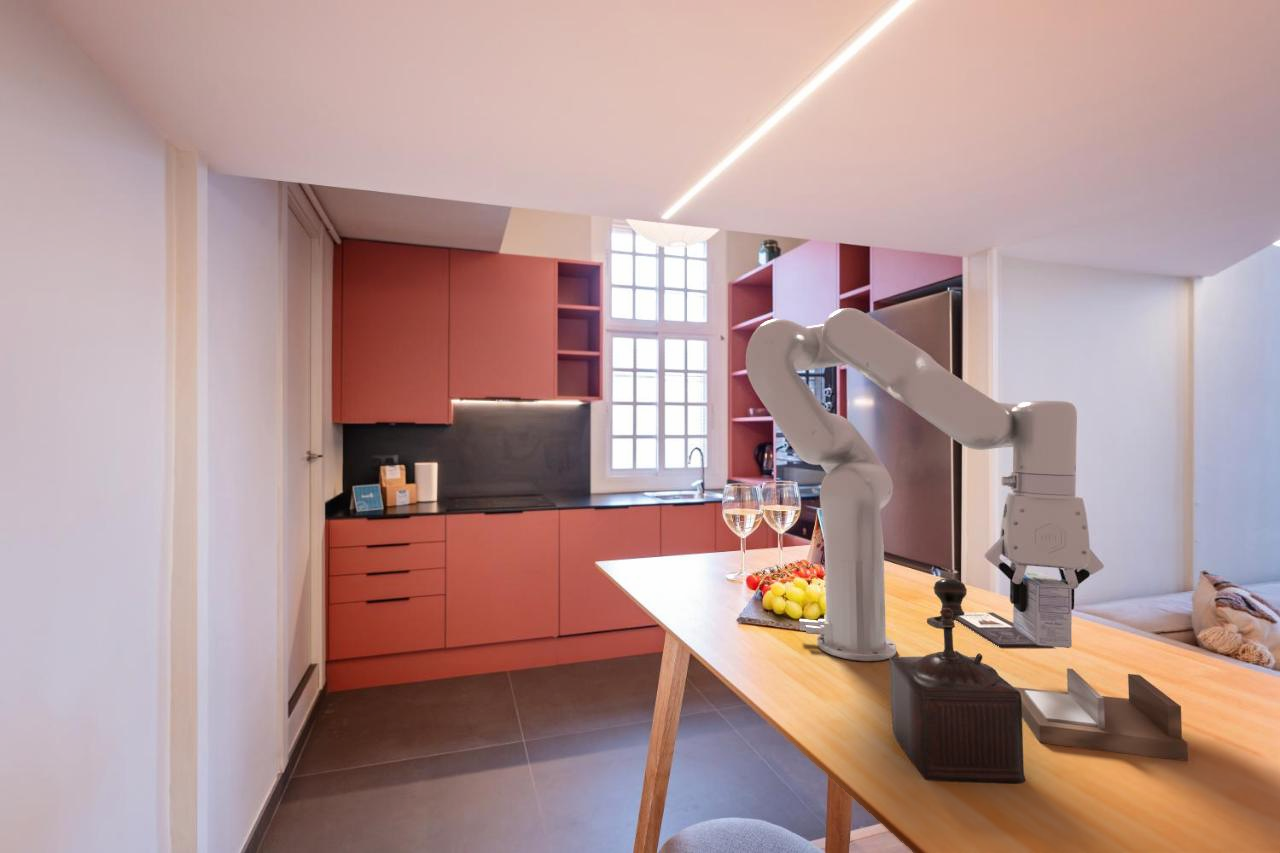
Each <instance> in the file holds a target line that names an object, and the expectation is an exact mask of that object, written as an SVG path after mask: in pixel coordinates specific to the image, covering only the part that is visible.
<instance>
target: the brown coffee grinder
mask: <svg viewBox="0 0 1280 853" xmlns="http://www.w3.org/2000/svg"><path fill="white" fill-rule="evenodd" d="M933 590H934V591H933V592H934V594H935V595H936V597H937V598H938V599H939V600H940V602H941V604H942V605H941V610H940V611H939V613H940V615H939V616H934V617H932V616H931V617H927V619H926V623H927V624H928V625H929V626H930V627H933V628H935V629H940V630H943V644H944V647H943V648H944V649H943V651H937V652H933V653H929V654H926V655H924V656H893V657H890V658H889V684H890V685H889V686H890V688H889V689H890V706H891V708H890V710H891V720H892V722H891V723H892V727H891V729H892V733H893V734H894V738H895V740H896V742H897V744H898V745H899V746H900V748H901V749H902V751H903V752H904V753H905V755H906V756H907V758H908V759H909V761H910V762H911V763H912V765H913V766H914V767H915V768H916V769H917V771H918V772H919V773H920V775H921V776H922V777H923V779H924V780H930V781H931V780H932V781H941V782H961V783H962V782H963V783H964V782H966V783H968V782H969V783H993V784H994V783H995V784H996V783H997V784H1000V783H1001V784H1002V783H1003V784H1021V783H1024V782H1026V777H1025V771H1024V769H1025V768H1024V744H1023V743H1024V738H1023V734H1024V733H1023V731H1024V730H1023V718H1022V700H1021V695H1020V692H1019V691H1018V690H1016V689H1015V688H1014V687H1015V686H1013V685H1012V684H1010V683H1009V682H1008V681H1007V680H1005V679H1004V678H1003V677H1002V676H1000V675H999V673H998V672H997V670H996V669H995V668H994V667H992V666H991V665H989V664H986V663H983V662H982V659H983V655H982V654H981V653H977V654H976V656H967V655H966V654H964V653H963V654H962V653H961V652H959V651H958V650H954V640H953V639H954V638H953V635H954V634H953V629H955V627H956V624H955V622H956V621H955V619H957V618H958V616H963V615H964V614H965V613H966V612H964V610H963V608H962V602H963V600H964V598H965V597H966V596H967V591H968V589H967V588H966V585H965V583H963V582H962V581H960V580H959V579H957V578H941V579H940V580H937V581H936V582H934V586H933Z"/></svg>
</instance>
